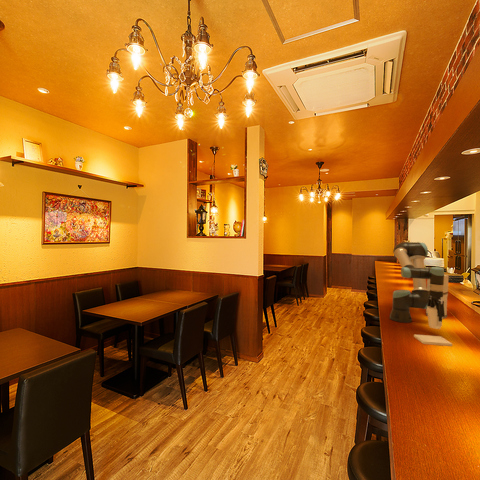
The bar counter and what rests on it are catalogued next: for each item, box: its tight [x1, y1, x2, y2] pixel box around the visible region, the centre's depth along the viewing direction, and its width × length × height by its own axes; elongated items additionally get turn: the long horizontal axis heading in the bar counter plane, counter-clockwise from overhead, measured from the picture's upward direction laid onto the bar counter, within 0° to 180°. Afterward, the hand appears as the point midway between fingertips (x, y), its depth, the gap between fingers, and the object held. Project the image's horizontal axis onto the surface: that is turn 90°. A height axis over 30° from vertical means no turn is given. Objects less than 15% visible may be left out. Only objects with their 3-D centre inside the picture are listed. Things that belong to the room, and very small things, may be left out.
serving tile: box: [413, 334, 453, 347], centre depth 170 cm, size 12×16×2 cm
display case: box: [425, 274, 449, 320], centre depth 225 cm, size 11×11×35 cm
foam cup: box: [427, 306, 444, 330], centre depth 182 cm, size 10×9×13 cm
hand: (434, 323), depth 182 cm, fingers closed on foam cup, 9 cm apart
